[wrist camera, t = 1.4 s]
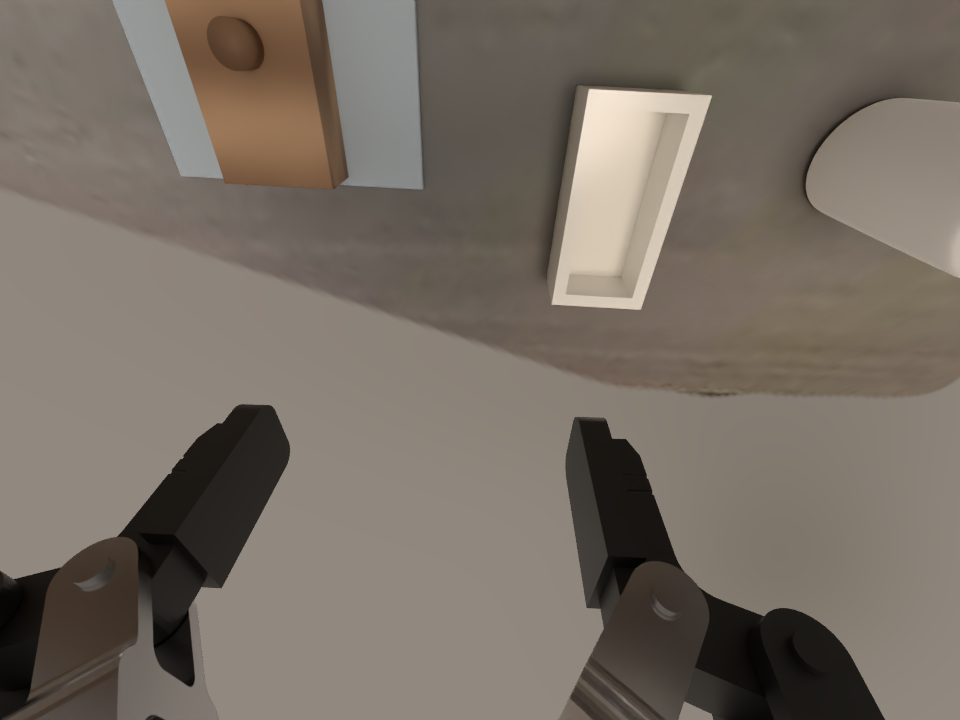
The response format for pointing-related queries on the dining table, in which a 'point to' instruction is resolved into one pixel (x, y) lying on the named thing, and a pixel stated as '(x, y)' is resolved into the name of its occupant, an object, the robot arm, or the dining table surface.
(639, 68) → the dining table surface
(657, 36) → the dining table surface
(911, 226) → the can
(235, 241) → the dining table surface
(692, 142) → the dish
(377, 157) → the mat
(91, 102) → the dining table surface
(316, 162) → the lid
